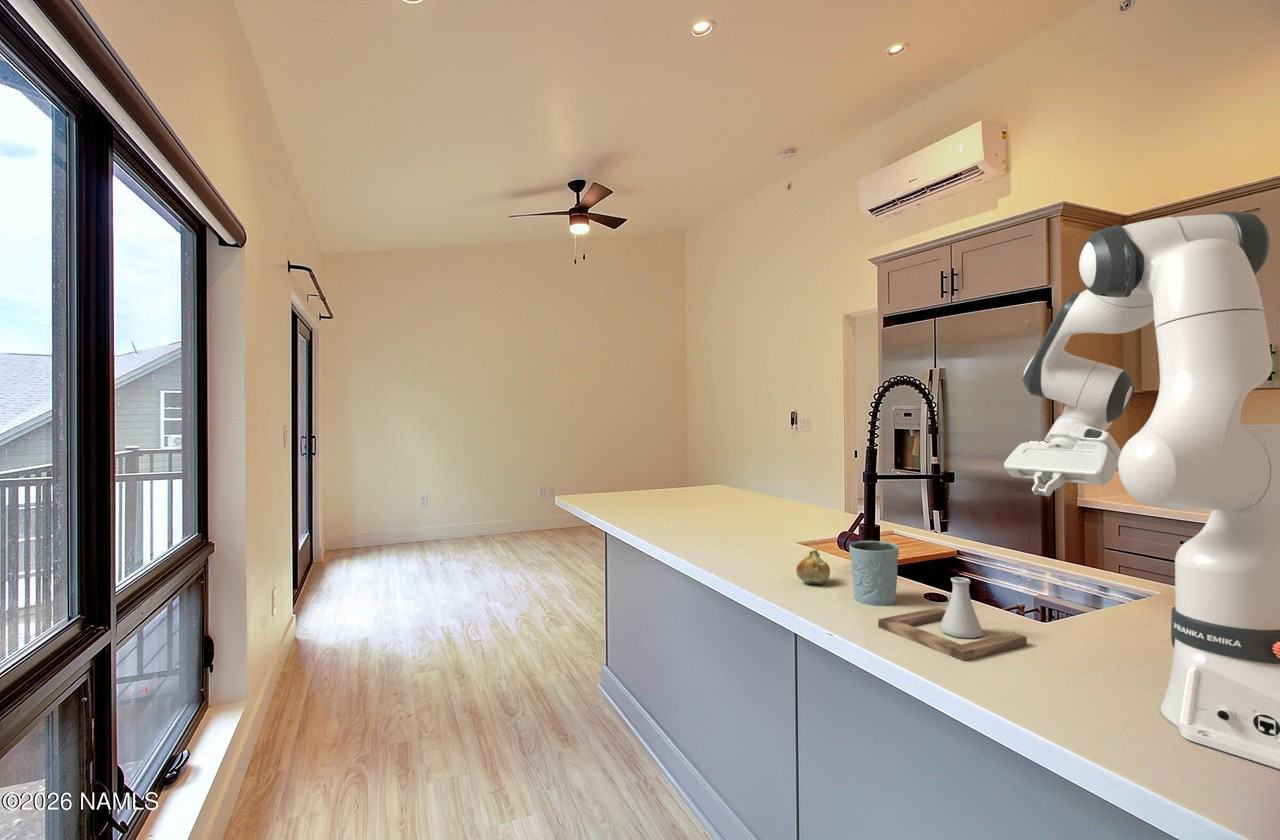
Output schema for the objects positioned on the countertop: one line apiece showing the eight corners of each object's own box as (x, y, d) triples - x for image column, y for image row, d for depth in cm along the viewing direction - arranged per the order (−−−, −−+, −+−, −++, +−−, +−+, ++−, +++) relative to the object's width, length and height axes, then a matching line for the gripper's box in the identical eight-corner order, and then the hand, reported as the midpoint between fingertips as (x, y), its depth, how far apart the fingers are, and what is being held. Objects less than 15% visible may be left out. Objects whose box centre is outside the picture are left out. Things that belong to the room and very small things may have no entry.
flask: (991, 638, 118) (991, 583, 118) (953, 640, 117) (953, 585, 117) (967, 625, 125) (967, 573, 125) (932, 627, 124) (931, 575, 124)
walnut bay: (1026, 645, 114) (1026, 636, 114) (963, 661, 108) (963, 651, 108) (937, 614, 131) (937, 607, 131) (878, 626, 125) (878, 619, 125)
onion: (790, 581, 159) (789, 548, 159) (820, 578, 161) (819, 546, 161) (805, 589, 152) (804, 555, 152) (836, 586, 154) (835, 552, 154)
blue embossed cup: (902, 596, 145) (901, 542, 144) (896, 609, 136) (896, 551, 135) (854, 591, 149) (853, 539, 149) (846, 603, 140) (845, 548, 140)
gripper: (1016, 430, 142) (985, 478, 138) (1117, 432, 123) (1085, 488, 120) (1030, 450, 144) (1000, 497, 140) (1131, 455, 125) (1100, 510, 121)
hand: (1040, 493), depth 130 cm, fingers closed
